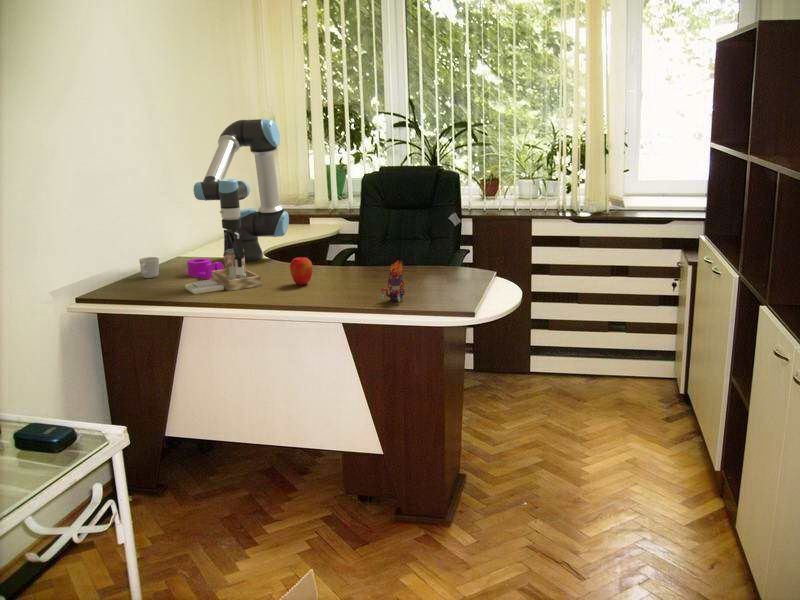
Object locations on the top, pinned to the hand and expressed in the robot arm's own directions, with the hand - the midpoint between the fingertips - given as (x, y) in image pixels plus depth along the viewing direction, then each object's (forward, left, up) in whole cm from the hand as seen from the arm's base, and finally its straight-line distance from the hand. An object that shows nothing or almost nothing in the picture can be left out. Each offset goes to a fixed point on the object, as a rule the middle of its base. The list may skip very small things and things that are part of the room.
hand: (235, 272), depth 323 cm
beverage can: (0, 0, -3) cm, 3 cm away
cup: (+27, -33, -5) cm, 43 cm away
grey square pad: (+14, +2, -3) cm, 15 cm away
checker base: (+14, +2, -4) cm, 15 cm away
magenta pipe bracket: (+6, -23, -5) cm, 24 cm away
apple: (-21, +19, -5) cm, 29 cm away
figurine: (-37, +64, -5) cm, 74 cm away
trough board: (0, 0, -4) cm, 4 cm away
